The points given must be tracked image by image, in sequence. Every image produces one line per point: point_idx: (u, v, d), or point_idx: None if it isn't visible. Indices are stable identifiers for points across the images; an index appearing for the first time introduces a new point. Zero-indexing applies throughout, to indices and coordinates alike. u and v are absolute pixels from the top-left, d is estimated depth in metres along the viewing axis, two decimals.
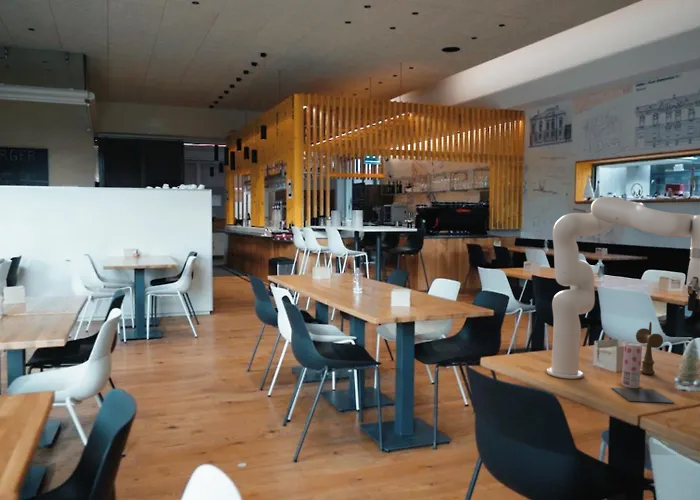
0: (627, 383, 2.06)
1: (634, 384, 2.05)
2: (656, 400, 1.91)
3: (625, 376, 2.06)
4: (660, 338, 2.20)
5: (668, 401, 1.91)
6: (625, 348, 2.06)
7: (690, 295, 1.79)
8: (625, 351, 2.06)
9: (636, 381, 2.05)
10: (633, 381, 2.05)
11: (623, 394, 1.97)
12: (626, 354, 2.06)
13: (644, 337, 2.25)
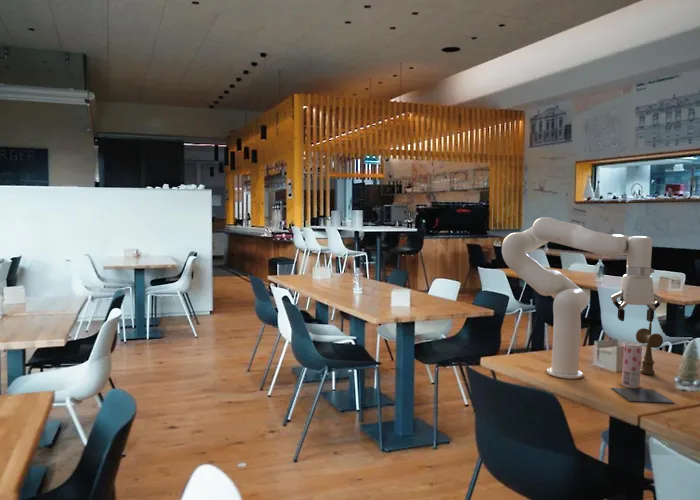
0: (627, 383, 2.06)
1: (634, 384, 2.05)
2: (656, 400, 1.91)
3: (625, 376, 2.06)
4: (660, 338, 2.20)
5: (668, 401, 1.91)
6: (625, 348, 2.06)
7: (616, 306, 2.06)
8: (625, 351, 2.06)
9: (636, 381, 2.05)
10: (633, 381, 2.05)
11: (623, 394, 1.97)
12: (626, 354, 2.06)
13: (644, 337, 2.25)
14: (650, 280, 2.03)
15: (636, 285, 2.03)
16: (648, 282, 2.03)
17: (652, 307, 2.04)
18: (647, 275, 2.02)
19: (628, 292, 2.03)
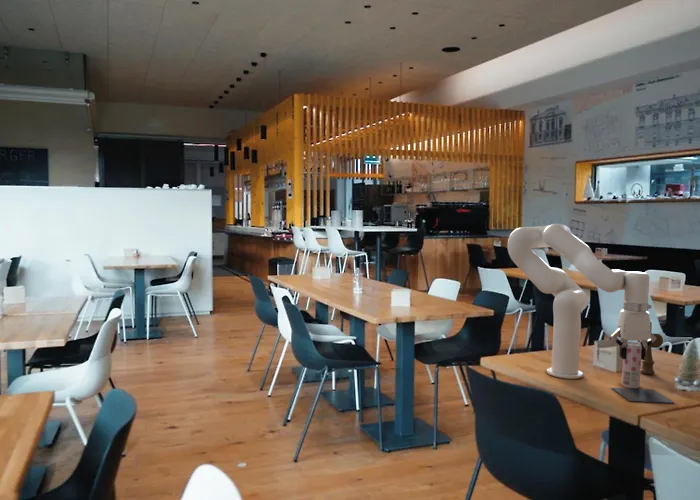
0: (627, 383, 2.06)
1: (634, 384, 2.05)
2: (656, 400, 1.91)
3: (625, 376, 2.06)
4: (660, 338, 2.20)
5: (668, 401, 1.91)
6: None
7: (618, 344, 2.07)
8: None
9: (636, 381, 2.05)
10: (633, 381, 2.05)
11: (623, 394, 1.97)
12: (626, 354, 2.06)
13: None
14: (647, 316, 2.04)
15: (633, 321, 2.04)
16: (645, 318, 2.04)
17: (644, 345, 2.05)
18: (644, 311, 2.03)
19: (625, 328, 2.04)
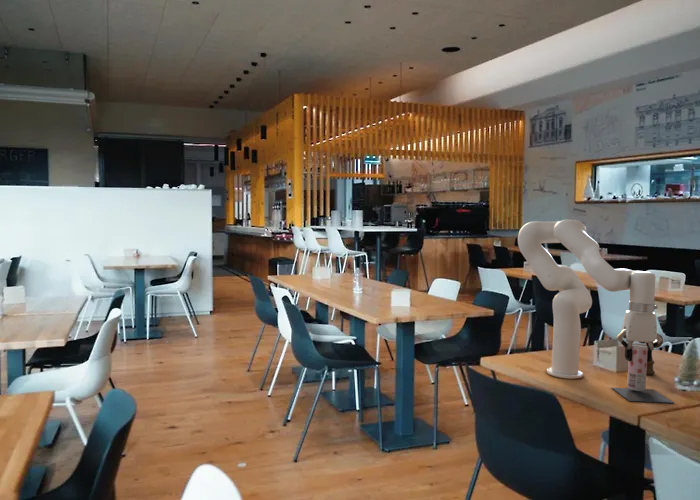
0: (633, 385, 2.00)
1: (640, 386, 1.99)
2: (656, 400, 1.91)
3: (631, 378, 2.01)
4: None
5: (668, 401, 1.91)
6: None
7: (623, 345, 2.02)
8: None
9: (642, 383, 1.99)
10: (638, 383, 1.99)
11: (623, 394, 1.97)
12: (632, 356, 2.00)
13: None
14: (653, 317, 1.98)
15: (639, 321, 1.98)
16: (651, 319, 1.98)
17: (650, 347, 2.00)
18: (650, 312, 1.97)
19: (631, 329, 1.99)
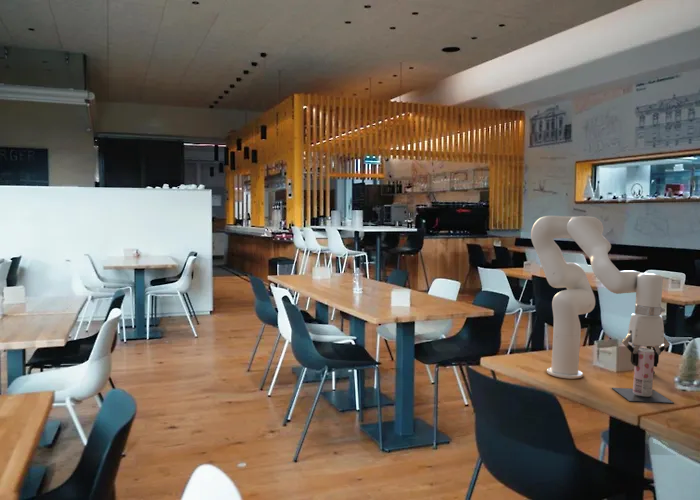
0: (639, 391, 1.94)
1: (646, 392, 1.93)
2: (656, 400, 1.91)
3: (637, 383, 1.95)
4: None
5: (668, 401, 1.91)
6: None
7: (629, 349, 1.96)
8: None
9: (648, 388, 1.93)
10: (645, 388, 1.93)
11: (623, 394, 1.97)
12: (638, 360, 1.94)
13: None
14: (660, 320, 1.92)
15: (646, 325, 1.92)
16: (658, 322, 1.92)
17: (657, 351, 1.94)
18: (657, 315, 1.91)
19: (637, 333, 1.93)
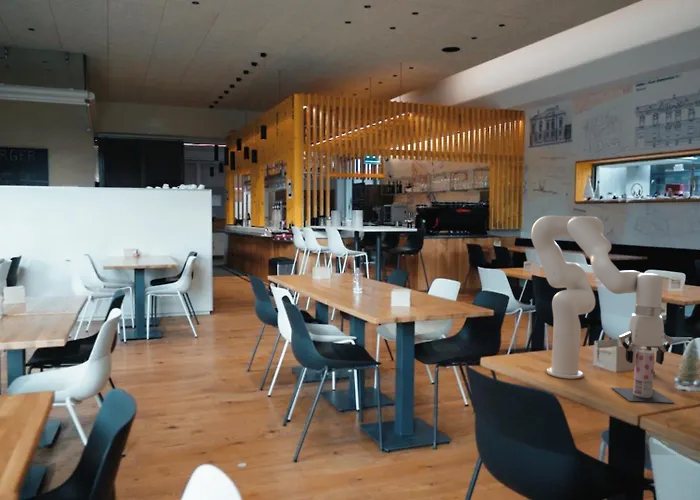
0: (639, 392, 1.94)
1: (646, 393, 1.93)
2: (656, 400, 1.91)
3: (637, 385, 1.95)
4: None
5: (668, 401, 1.91)
6: (637, 355, 1.95)
7: (624, 346, 1.96)
8: (637, 358, 1.95)
9: (648, 390, 1.93)
10: (645, 390, 1.93)
11: (623, 394, 1.97)
12: (638, 361, 1.94)
13: None
14: (660, 320, 1.92)
15: (646, 325, 1.92)
16: (658, 323, 1.92)
17: (662, 349, 1.94)
18: (657, 315, 1.91)
19: (637, 333, 1.93)
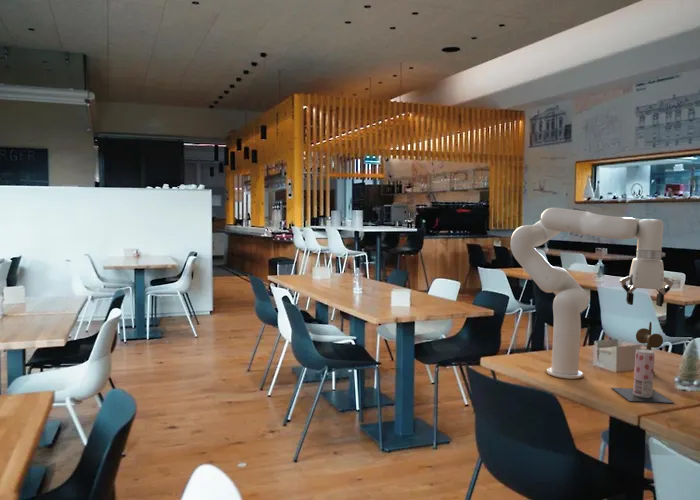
0: (639, 392, 1.94)
1: (646, 393, 1.93)
2: (656, 400, 1.91)
3: (637, 385, 1.95)
4: (660, 338, 2.20)
5: (668, 401, 1.91)
6: (637, 355, 1.95)
7: (625, 289, 2.04)
8: (637, 358, 1.95)
9: (648, 390, 1.93)
10: (645, 390, 1.93)
11: (623, 394, 1.97)
12: (638, 361, 1.94)
13: (644, 337, 2.25)
14: (660, 264, 2.00)
15: (646, 268, 2.00)
16: (658, 266, 1.99)
17: (662, 291, 2.01)
18: (657, 258, 1.98)
19: (638, 276, 2.00)
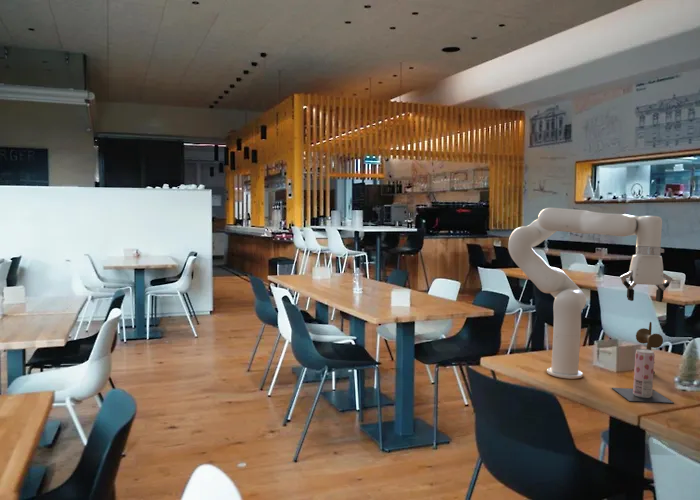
0: (639, 392, 1.94)
1: (646, 393, 1.93)
2: (656, 400, 1.91)
3: (637, 385, 1.95)
4: (660, 338, 2.20)
5: (668, 401, 1.91)
6: (637, 355, 1.95)
7: (625, 285, 2.06)
8: (637, 358, 1.95)
9: (648, 390, 1.93)
10: (645, 390, 1.93)
11: (623, 394, 1.97)
12: (638, 361, 1.94)
13: (644, 337, 2.25)
14: (660, 260, 2.02)
15: (646, 264, 2.02)
16: (658, 262, 2.02)
17: (662, 287, 2.04)
18: (657, 255, 2.01)
19: (638, 272, 2.03)
